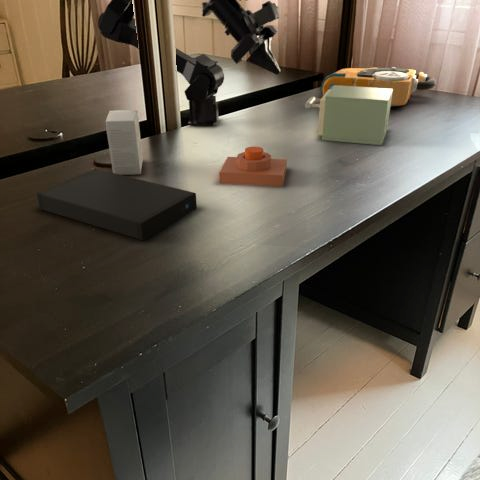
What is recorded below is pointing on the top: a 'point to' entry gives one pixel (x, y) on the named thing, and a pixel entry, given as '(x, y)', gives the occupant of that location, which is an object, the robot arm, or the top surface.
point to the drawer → (321, 112)
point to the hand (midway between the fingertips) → (278, 73)
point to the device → (381, 81)
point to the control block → (253, 171)
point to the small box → (124, 141)
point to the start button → (254, 153)
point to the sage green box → (356, 114)
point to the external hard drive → (118, 203)
